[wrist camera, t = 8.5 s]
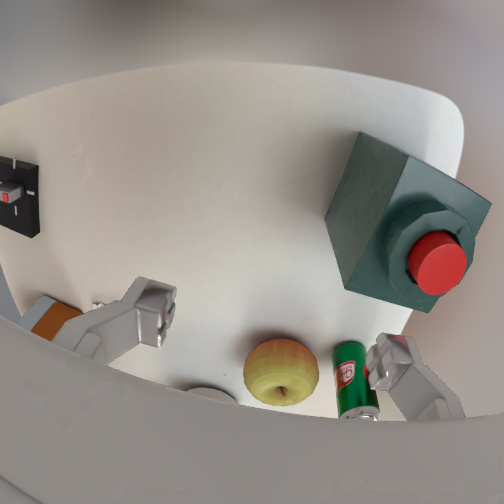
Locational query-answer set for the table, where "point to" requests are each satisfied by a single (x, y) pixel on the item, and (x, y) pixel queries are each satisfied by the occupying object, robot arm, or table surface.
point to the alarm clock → (47, 317)
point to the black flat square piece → (26, 207)
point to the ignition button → (437, 262)
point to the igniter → (396, 220)
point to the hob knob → (10, 191)
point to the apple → (281, 372)
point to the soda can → (353, 383)
